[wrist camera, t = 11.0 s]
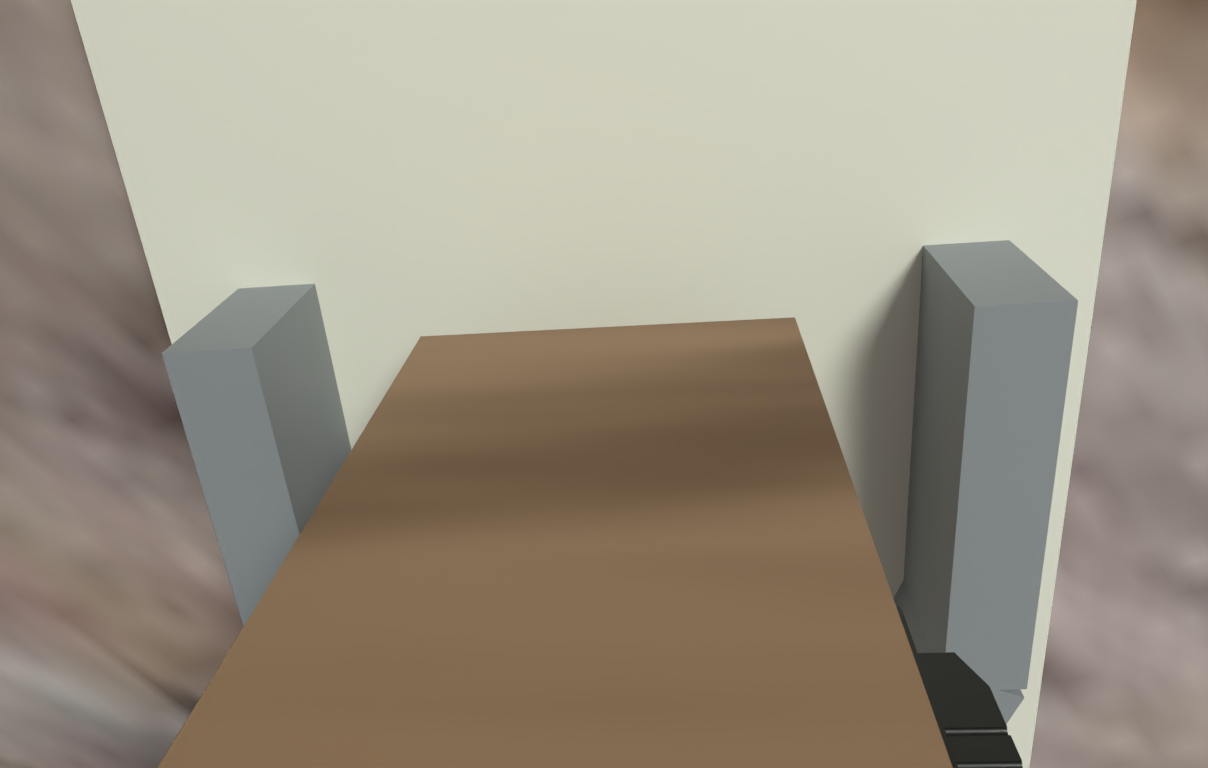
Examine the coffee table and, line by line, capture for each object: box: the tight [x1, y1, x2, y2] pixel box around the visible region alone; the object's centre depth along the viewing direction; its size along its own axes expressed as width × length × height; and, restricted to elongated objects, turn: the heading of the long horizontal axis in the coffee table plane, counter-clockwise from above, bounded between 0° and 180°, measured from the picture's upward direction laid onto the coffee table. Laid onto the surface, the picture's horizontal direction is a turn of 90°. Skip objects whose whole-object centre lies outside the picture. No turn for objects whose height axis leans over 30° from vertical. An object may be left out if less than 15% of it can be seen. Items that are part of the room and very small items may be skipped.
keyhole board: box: [71, 0, 1137, 768], centre depth 15 cm, size 22×14×5 cm, turn 5°
